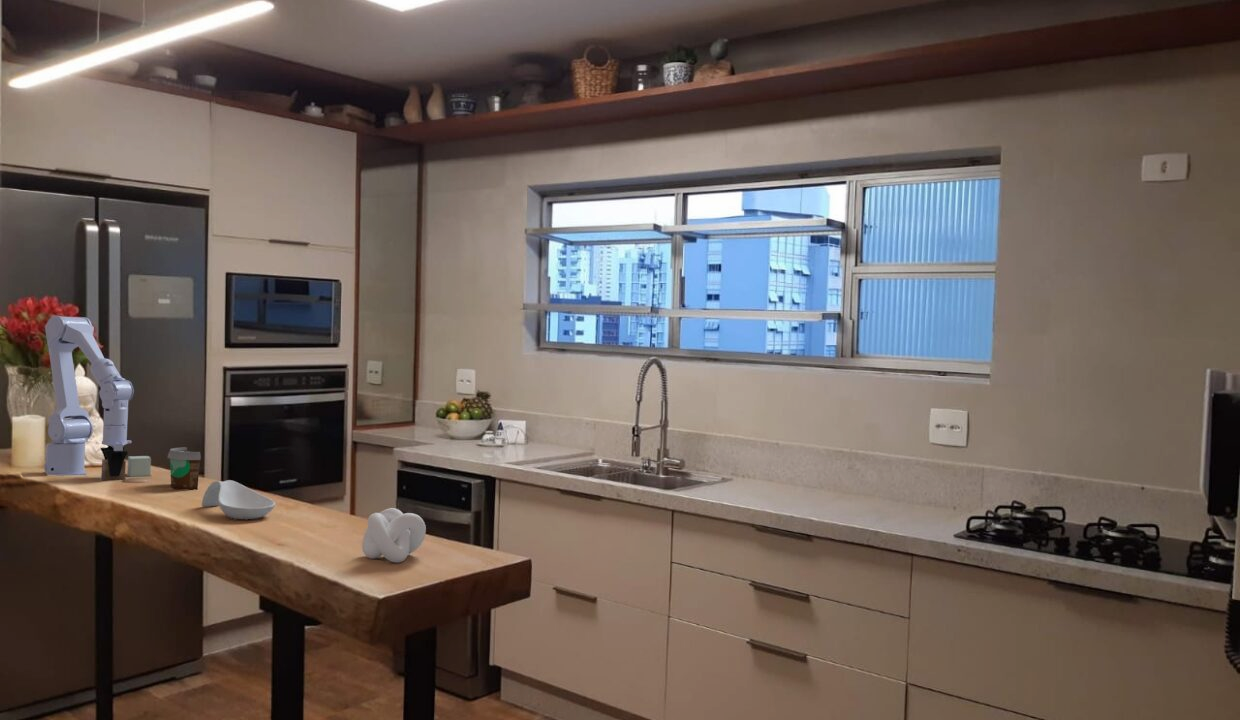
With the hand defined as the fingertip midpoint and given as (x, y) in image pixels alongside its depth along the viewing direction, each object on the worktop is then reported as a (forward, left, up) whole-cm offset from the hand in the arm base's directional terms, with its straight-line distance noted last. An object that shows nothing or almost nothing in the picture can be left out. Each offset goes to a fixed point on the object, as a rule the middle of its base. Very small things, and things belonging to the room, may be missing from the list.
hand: (113, 474), depth 246 cm
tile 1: (0, 0, -1) cm, 1 cm away
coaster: (+5, -6, -1) cm, 8 cm away
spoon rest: (+17, -61, -2) cm, 63 cm away
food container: (+13, -19, -2) cm, 23 cm away
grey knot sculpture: (+31, -116, -2) cm, 120 cm away
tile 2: (+7, +5, -1) cm, 9 cm away
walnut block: (0, 0, -1) cm, 1 cm away
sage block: (+7, +5, -1) cm, 9 cm away
